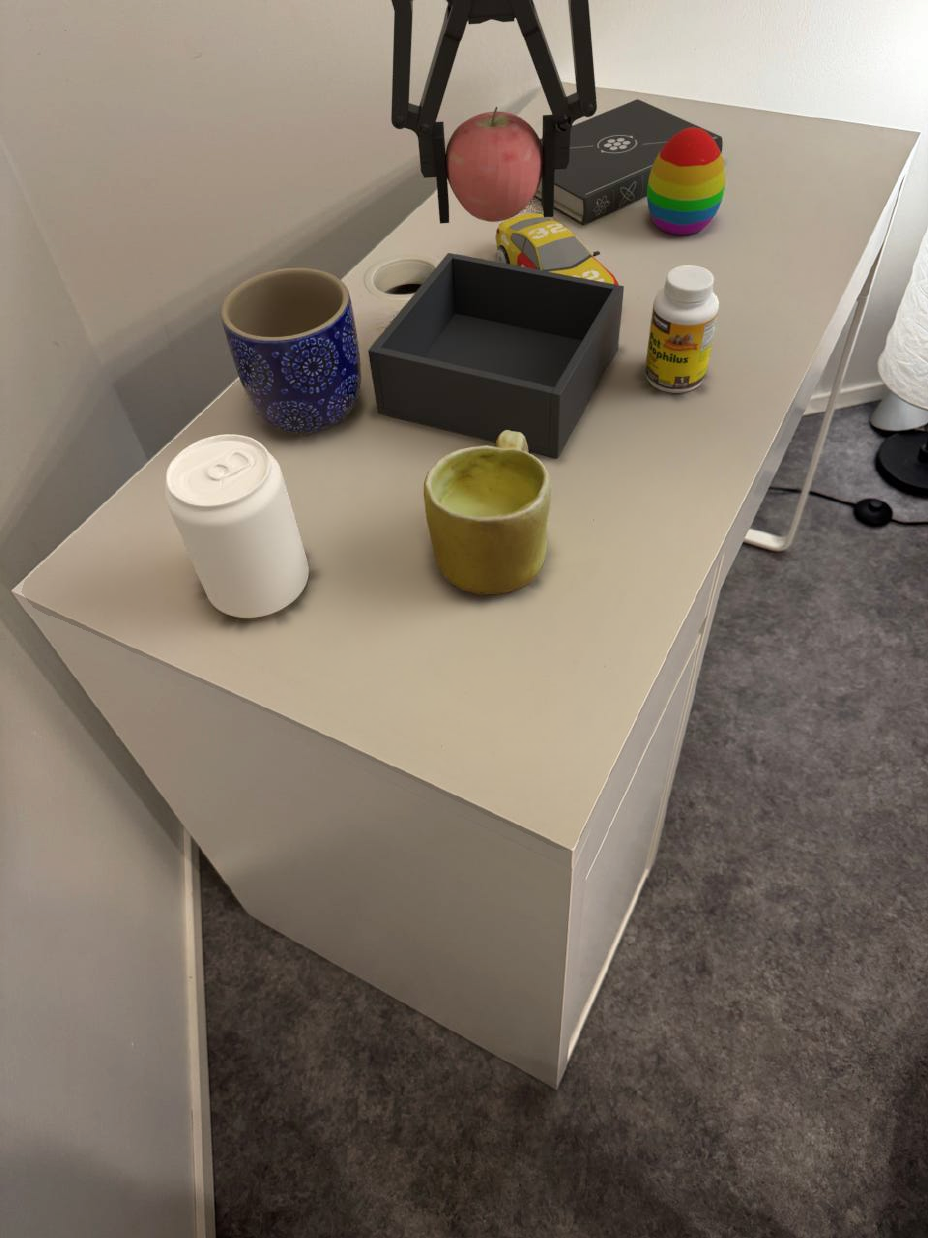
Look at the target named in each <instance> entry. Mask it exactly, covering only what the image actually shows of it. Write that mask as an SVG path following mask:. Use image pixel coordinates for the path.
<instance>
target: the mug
mask: <svg viewBox="0 0 928 1238" xmlns="http://www.w3.org/2000/svg"><path fill="white" fill-rule="evenodd" d="M551 499H552V484H551V477H550V474H549V472H548V470H547V467H546V466H545V464H544V463H543V462H542V461H541V460H540V459H539V458H538V457H536V456H535V455H533V454H531V453H529V451H528V445H527V442H526V439H525V436H524V435H523V434H522V433H520V432H515V431H509V430H505V431H503V432H502V433H501V434H500V435H499V437H498V439H497V440H496V443H495V446H492V445H487V444H486V445H478V446H470V447H465V448H459V449H456V450H454V451H452V452H449V453H447V454H446V455H445V456H443V457H442V458H440V459H439V460H437V461H436V462H435V463H434V464H433V465H432V466H431V467H430V469H429V470H428V471H427V473H426V475H425V478H424V482H423V501H424V508H425V509H424V510H425V517H426V523H427V529H428V533H429V537H430V542H431V543H430V544H431V547H432V551H433V557H434V560H435V563H436V565H437V568H438V569H439V571H440V572H441V574H442V576H444V578H445V579H446V580H447V581H448V582H449V583H450V584H452V585H453V586H454V587H456V588H457V589H458V590H461V591H463V592H467V593H473V594H474V595H480V596H481V595H483V596H484V595H488V594H493V595H494V594H496V595H499V594H506V593H508V592H509V593H510V592H512V591H516V590H518V589H519V590H520V589H521V588H524V587H525V586H528V585H529V584H531V582H533V581H534V580H535V579H536V577H537V576H538V574H539V572H540V571H541V569H542V568H543V565H544V562H545V560H546V556H547V546H548V545H547V543H548V542H547V529H548V521H549V513H550V507H551V501H552V500H551Z"/></svg>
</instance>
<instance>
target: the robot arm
mask: <svg viewBox="0 0 928 1238" xmlns="http://www.w3.org/2000/svg"><path fill="white" fill-rule="evenodd" d="M390 1H391V5H392V7H393V12H394V15H393V50H392V78H391V79H392V80H391V81H392V82H391V116H390V117H391V119H390V120H391V124H392V127H394V128H395V129H396V130H403V129H407V130H409V131H412V132H413V133H415V135H416V138H417V142H418V143H417V145H418V153H419V165H420V173H421V174H422V176H423V179H424V178H435V180H436V191H437V204H438V216H439V217H438V219H439V224H441V225H442V224H450V200H449V199H450V198H449V197H450V196H449V186H448V185H449V182H448V178H447V174H446V140H445V124H444V121H443V120H442V121H437V120H438V116H439V112H440V110H441V106H442V102H443V100H444V96H445V93H446V89H447V86H448V83H449V80H450V76H451V73H452V70H453V68H454V65H455V64H454V63H455V61H456V57H457V55H458V54H457V53H458V50H459V48H460V44H461V41H462V40H463V37H464V34H465V31H466V27H467V25H481V24H483V23H485V22H488V21H491V20H493V21H497V22H501V23H509V22H510V23H511V22H515V19H516V22H517V25H518V28H519V30H520V33H521V36H522V37H523V40H524V42H525V45H526V47H527V51H528V53H529V55H530V58H531V62H532V64H533V66H534V69H535V72H536V75H537V77H538V79H539V83H540V86H541V88H542V91H543V93H544V97H545V99H546V101H547V105H548V108H549V109H550V112H551V114H543V115H542V147H543V156H544V165H543V172H542V199H541V200H542V201H541V200H540V201H541V207H542V214H543V215H544V217H548V218H554V211H555V210H554V209H555V208H554V174H555V169H567V166H568V164H569V156H570V130H571V128H572V126H573V125H574V122H576V121H577V120H579V119H581V118H584V117H585V118H592V117H594V115H595V114H596V112H597V109H598V103H597V91H596V78H595V67H594V66H595V65H594V53H593V40H592V28H591V16H590V15H591V14H590V3H589V0H567V3H568V4H567V6H568V14H569V15H568V16H569V23H570V24H569V27H570V37H571V46H572V55H573V56H572V57H573V58H572V59H573V66H574V67H573V68H574V77H575V79H574V80H575V88H576V92H574V93H572V94H569V95H567V94H566V91H565V88H564V86H563V85H564V84H563V83H562V80H561V77H560V74H559V72H558V68H557V66H556V63H555V60H554V57H553V54H552V52H551V49H550V46H549V43H548V40H547V37H546V35H545V32H544V29H543V26H542V23H541V21H540V18H539V15H538V12H537V8H536V5H535V2H534V0H445V1H446V3H447V5H446V8H445V11H444V17H443V21H442V25H441V29H440V32H439V36H438V38H437V41H436V42H437V43H436V46H435V49H434V53H433V57H432V60H431V63H430V67H429V71H428V74H427V77H426V80H425V84H424V87H423V91H422V94H421V98H420V102H419V105H417V104H414V103H410V84H411V83H410V82H411V58H412V39H413V38H412V37H413V13H414V0H390Z"/></svg>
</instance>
